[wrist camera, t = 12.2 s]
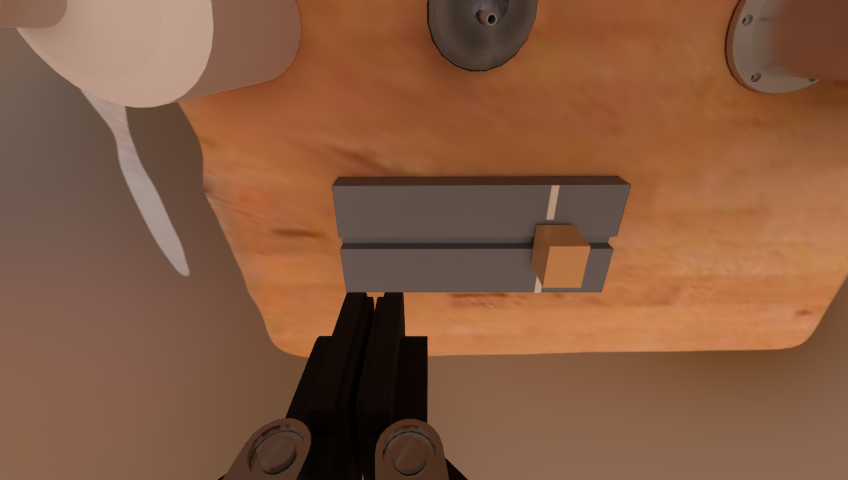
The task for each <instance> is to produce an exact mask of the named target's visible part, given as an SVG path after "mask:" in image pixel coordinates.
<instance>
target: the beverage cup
mask: <svg viewBox="0 0 848 480" xmlns="http://www.w3.org/2000/svg"><path fill="white" fill-rule="evenodd" d="M537 2H538V0H428V1H427V23H428V27H429V30H430V34H431V37H432V41H433V42H434V44H435V45H436V47H437V49H438V50H439V52H440V53H441V55H442V56H443V57H444V58H446V59H447V60H448V61H449V62H451V63H452V64H453V65H454V66H456V67H459V68H462V69H465V70H468V71H488V70H491V69H493V68H496V67H499V66H502V65H503V64H504V63H506V62H507V61H508V60H509V59H511V58H512V57H513V56H515V55H516V54H517V52H518V51H519V50H520V48H521V47H522V46H523V44H524V43H525V41H526V40H527V38H528V36H529V34H530V31H531V29H532V26H533V23H534V21H535V18H536V11H537Z"/></svg>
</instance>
